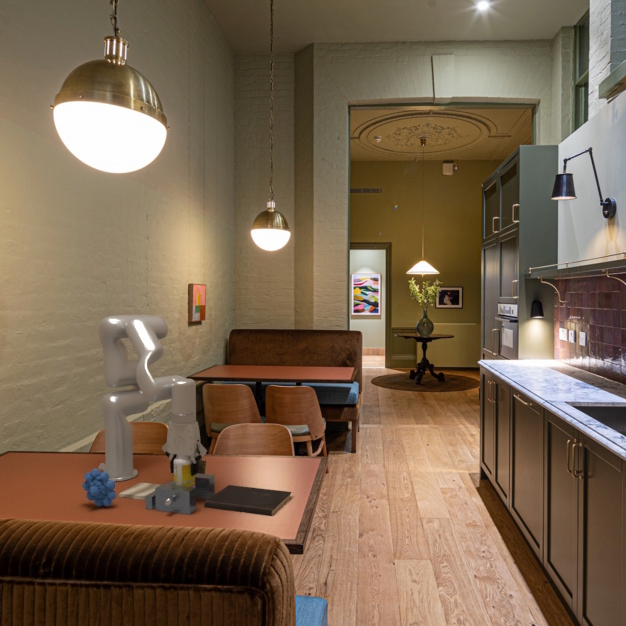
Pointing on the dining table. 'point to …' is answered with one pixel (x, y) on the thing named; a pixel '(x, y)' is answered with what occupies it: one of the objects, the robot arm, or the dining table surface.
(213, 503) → the hardcover book
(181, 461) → the supplement bottle
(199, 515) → the dining table surface
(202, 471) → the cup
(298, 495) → the dining table surface
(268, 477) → the dining table surface
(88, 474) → the grapes
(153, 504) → the vise
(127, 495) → the birch board
